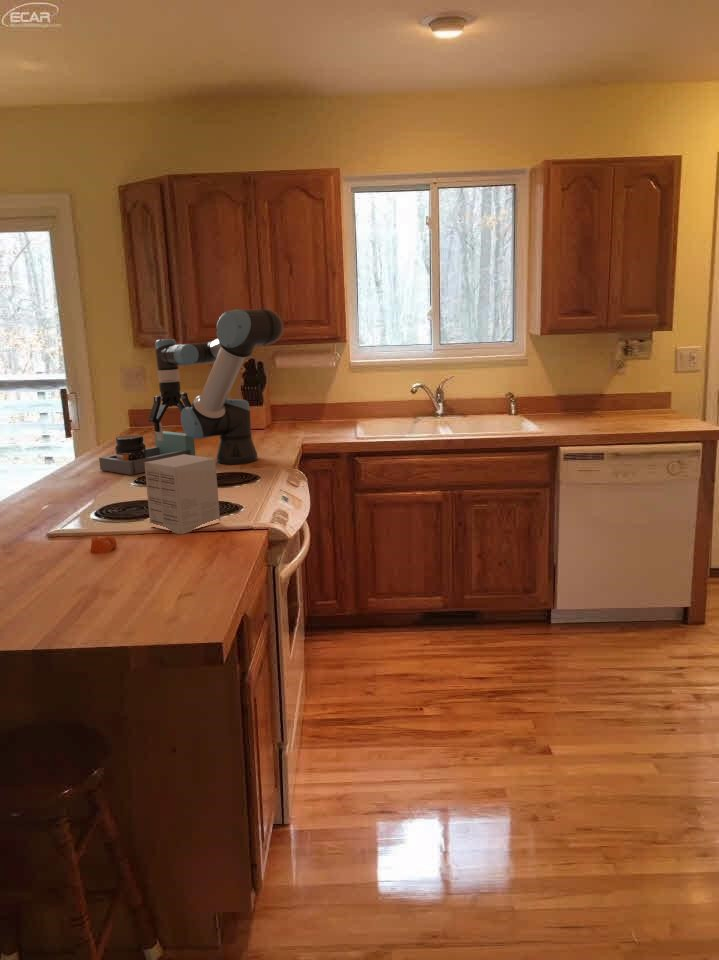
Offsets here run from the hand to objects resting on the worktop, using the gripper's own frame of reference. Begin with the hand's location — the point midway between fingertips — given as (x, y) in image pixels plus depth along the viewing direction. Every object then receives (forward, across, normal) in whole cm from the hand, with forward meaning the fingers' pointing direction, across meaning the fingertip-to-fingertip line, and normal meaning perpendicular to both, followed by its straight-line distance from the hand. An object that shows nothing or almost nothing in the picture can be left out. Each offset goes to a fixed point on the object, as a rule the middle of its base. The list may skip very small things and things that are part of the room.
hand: (174, 437), depth 295 cm
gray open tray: (+9, +13, -1) cm, 16 cm away
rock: (+12, +84, +77) cm, 114 cm away
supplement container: (+9, +20, -1) cm, 22 cm away
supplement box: (+11, +59, +76) cm, 97 cm away
